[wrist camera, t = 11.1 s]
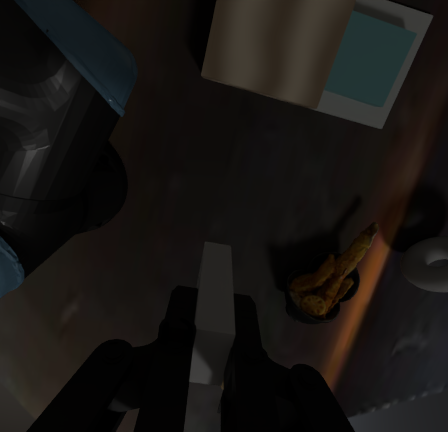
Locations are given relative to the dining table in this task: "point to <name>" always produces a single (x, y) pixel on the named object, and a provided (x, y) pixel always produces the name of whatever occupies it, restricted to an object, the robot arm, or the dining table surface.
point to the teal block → (369, 59)
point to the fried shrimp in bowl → (326, 282)
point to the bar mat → (376, 116)
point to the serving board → (276, 46)
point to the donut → (418, 264)
